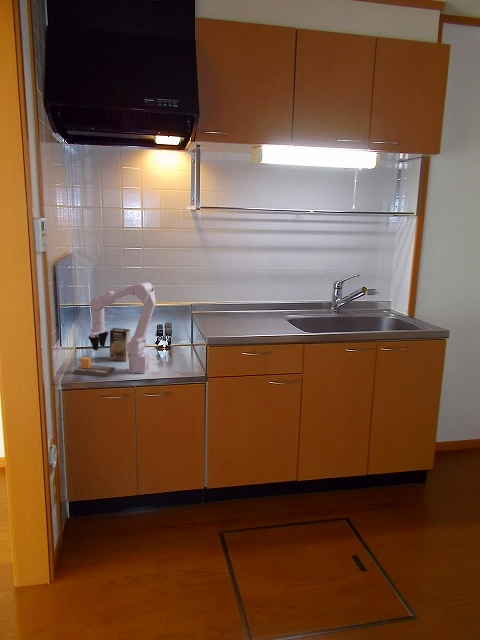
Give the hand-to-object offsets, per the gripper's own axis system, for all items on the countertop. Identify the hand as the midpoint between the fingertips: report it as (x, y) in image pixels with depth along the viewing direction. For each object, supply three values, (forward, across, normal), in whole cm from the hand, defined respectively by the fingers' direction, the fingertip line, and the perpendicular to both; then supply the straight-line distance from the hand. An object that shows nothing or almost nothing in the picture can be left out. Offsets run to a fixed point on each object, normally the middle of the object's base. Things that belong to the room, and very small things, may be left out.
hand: (99, 348), depth 251 cm
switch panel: (+9, +10, +2) cm, 14 cm away
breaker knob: (+7, +10, -2) cm, 12 cm away
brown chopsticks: (+9, +4, +2) cm, 10 cm away
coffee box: (+10, -14, +5) cm, 18 cm away
